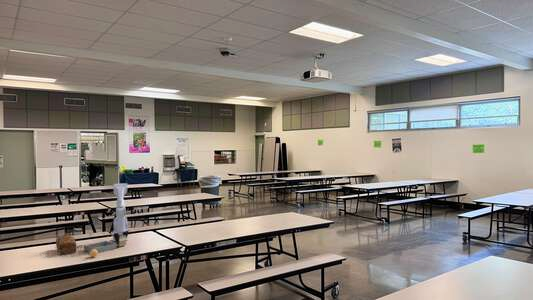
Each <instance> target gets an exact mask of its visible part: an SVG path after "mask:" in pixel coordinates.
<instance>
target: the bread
mask: <svg viewBox="0 0 533 300" xmlns="http://www.w3.org/2000/svg"><path fill="white" fill-rule="evenodd" d="M55 246H56V247H55V248H56V251H57V253H58V255H59V256H66V255H69V254H70V255H72V254H76V253H77V241H76V239H75V237H74V236H72V235H67V234H63V235H60V236H58V237H56V238H55ZM65 254H66V255H65Z"/></svg>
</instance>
